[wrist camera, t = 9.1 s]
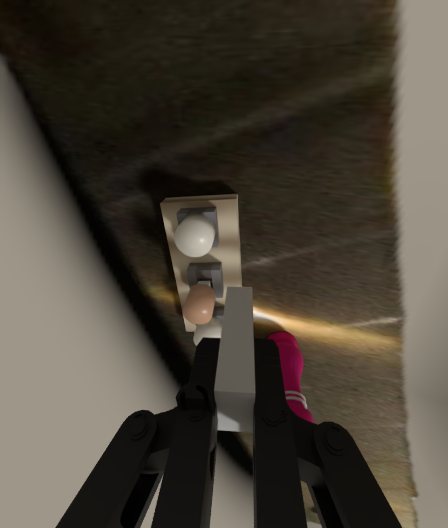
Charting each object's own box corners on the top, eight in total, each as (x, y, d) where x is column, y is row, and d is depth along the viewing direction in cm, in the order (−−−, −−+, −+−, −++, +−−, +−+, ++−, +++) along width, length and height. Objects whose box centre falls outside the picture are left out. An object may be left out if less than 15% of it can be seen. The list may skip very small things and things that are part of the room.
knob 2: (197, 307, 43) (191, 329, 39) (225, 307, 43) (222, 329, 38) (200, 328, 46) (195, 350, 41) (227, 328, 45) (224, 351, 41)
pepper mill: (259, 350, 52) (265, 462, 35) (268, 326, 48) (280, 437, 31) (291, 357, 52) (313, 471, 35) (303, 333, 48) (335, 448, 31)
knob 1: (181, 209, 35) (170, 222, 30) (215, 207, 34) (210, 220, 29) (186, 241, 37) (177, 257, 32) (218, 240, 36) (214, 256, 32)
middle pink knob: (190, 275, 37) (180, 301, 31) (216, 274, 36) (210, 301, 31) (193, 296, 39) (184, 324, 33) (218, 295, 38) (213, 324, 33)
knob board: (166, 197, 37) (154, 208, 32) (237, 193, 36) (235, 203, 31) (189, 320, 49) (183, 341, 45) (243, 320, 48) (243, 341, 43)
